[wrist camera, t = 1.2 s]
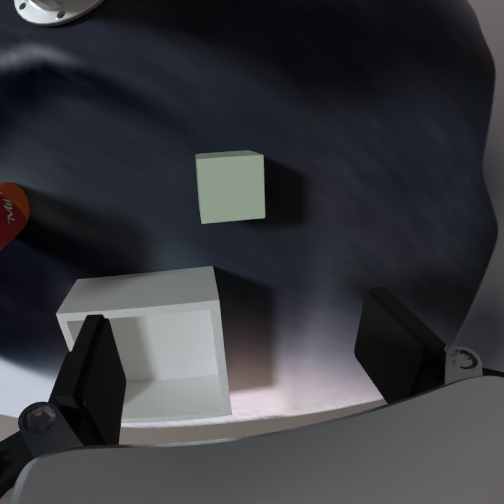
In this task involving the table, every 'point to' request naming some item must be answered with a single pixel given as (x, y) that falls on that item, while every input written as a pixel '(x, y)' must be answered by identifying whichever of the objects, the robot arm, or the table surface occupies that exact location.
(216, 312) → the bin
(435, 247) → the table surface
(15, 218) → the paper cup
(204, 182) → the green block
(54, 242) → the table surface
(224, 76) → the table surface
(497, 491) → the robot arm
